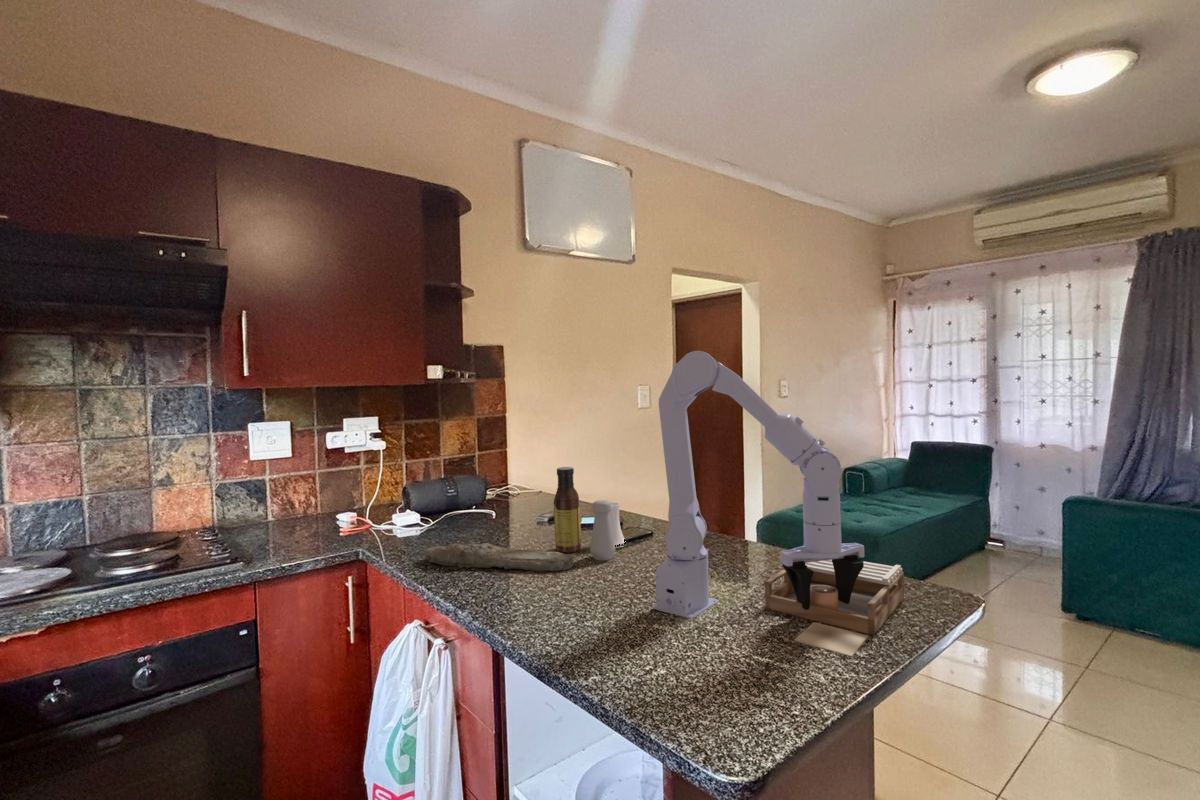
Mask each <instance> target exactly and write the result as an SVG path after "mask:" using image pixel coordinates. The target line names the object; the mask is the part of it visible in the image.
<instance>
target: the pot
mask: <svg viewBox="0 0 1200 800" xmlns="http://www.w3.org/2000/svg"><path fill="white" fill-rule="evenodd" d="M810 604H814V605H819V606H823V607H827V608H832V609H836V610H838V590H837V589H836V588H834V587H831V586H827V585H812V586H810Z"/></svg>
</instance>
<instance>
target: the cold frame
mask: <svg viewBox="0 0 1200 800" xmlns="http://www.w3.org/2000/svg"><path fill="white" fill-rule="evenodd" d="M781 578H784V579H783V580H784V582H782V583H781V584H779V585H778V586H776V587H775V588H773V589H772V584H773V583H775V582H776V581H777V580H779V579H781ZM904 578H905V576H904V571H902V572H901V573H899V575H898V576H897V578H896V579H894V581H893V582H891V584H890V585H884V584H879V583H874V582H868V581H863V580H858V579H856V581H855V584H854V587H853V590H852V594H851V598H850V602H849V604H845V603H843V602H841V601H839V600H838V610H836V609H832V608H827V607H823V606H819V605H814V604H810V607H809V609H808V610H805V609H803V608H802V603H800V602H798V601H797V598H796V594H795V591H794V588H793V585H792V583H791V581H790V578H789V576H788V575H787V573H786V571H785V569H784V568H783V569H782V570H780V571H779V572H777V573H776V574H774V575H773V576H771V577H769V578H768V579H766V580H765V581H764V600H765V601H764V603H765V605H764V606H765V609H767V610H771V611H774V612H775V611H776V612H779V613H783V614H787V615H791V616H794V617H798V618H803V619H806V620H811V621H814V622H818V623H822V624H826V625H827V624H828V625H830V626H834V627H838V628H842V629H846V630H850V631H854V632H858V633H862V634H866V635H871V636H875V634H876V633H877V632H878V631H879V630H880V629H881V628H882V626H883V624H884V623H885V622H886V621H887V620H888V619H889V617H890V616H891V615H892V614H893V612H894V611H896V609H897V607H898V606H899V604H901V603H902V602H903V600H904V599H905V583H904V582H905V580H904ZM812 585H827V586H831V587H834V588H836V577H835V575H832V574H826V573H821V572H816V571H814V572H813V576H812V580H811V585H810V586H812Z"/></svg>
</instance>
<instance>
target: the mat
mask: <svg viewBox="0 0 1200 800" xmlns="http://www.w3.org/2000/svg"><path fill="white" fill-rule="evenodd" d="M868 638H869V634H865V633H861V632H857V631H853V630H849V629H845V628H841V627H837V626H833V625H829V624H828V625H827V624H825V623H821V622H817V621H814V622H812V623H811V624H810V625H809V626H808V627H806V629H804V631H802V632H801V633H800V634H799V635H798V636H797V637H795V638H794V641H795V642H798V643H801V644H804V645H808V646H812V647H816V648H818V649H822V650H826V651H829V652H832V653H837V654H841V655H844V656H848V657H851V658H852V657H854V655H855V653H857V651H858V650H859V649H860V648H861V646H862V645H863V644H864V643H865V642H866V641H867V639H868Z"/></svg>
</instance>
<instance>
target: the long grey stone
mask: <svg viewBox="0 0 1200 800" xmlns="http://www.w3.org/2000/svg"><path fill="white" fill-rule="evenodd" d="M424 558H425V559H426V560H427V561H428V562H429V563H432V564H433V563H434V564H438V565H443V566H444V567H445V566H446V567H447V566H448V567H457V568H458V569H463V568H462V567H467V568H466V569H469V568H477V569H478V568H479V569H482V568H485V569H488V568H492V567H497V568H500V569H501V568H503V569H504V570H512V569H513V570H514V569H516V570H517V569H518V570H525V571H531V572H532V571H534V572H548V571H549V572H557V571H558V572H559V571H567V570H569V569H572V568H573V567H574V559H573V557H572V555H569V554H565V553H563V552H560V551H543V550H534V549H513V548H507V547H502V546H497V545H493V544H491V543H487V542H482V543H481V544H478V543H475V544H473V543H467V544H460V543H458V544H457V543H456V544H455V543H449V544H447V545H446V546H443V545H437V546H433V547H428V548H427V549H426V551H424Z"/></svg>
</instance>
